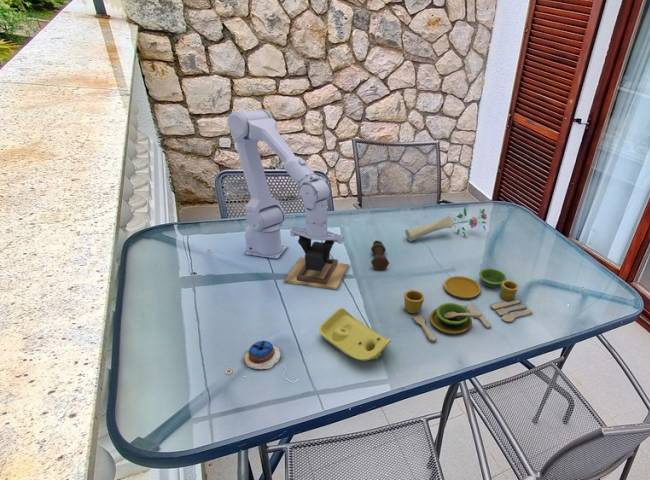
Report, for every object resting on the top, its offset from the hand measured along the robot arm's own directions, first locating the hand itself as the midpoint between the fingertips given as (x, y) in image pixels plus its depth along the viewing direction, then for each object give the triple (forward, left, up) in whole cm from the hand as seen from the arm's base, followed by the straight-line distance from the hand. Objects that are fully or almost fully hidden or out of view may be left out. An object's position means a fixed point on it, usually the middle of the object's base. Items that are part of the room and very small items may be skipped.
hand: (317, 259), depth 131 cm
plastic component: (+19, -31, -6) cm, 37 cm away
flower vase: (+38, +41, -6) cm, 56 cm away
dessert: (-1, -39, -6) cm, 39 cm away
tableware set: (+47, -5, -6) cm, 48 cm away
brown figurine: (+16, +15, -6) cm, 23 cm away
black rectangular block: (0, 0, -1) cm, 1 cm away
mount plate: (0, 0, -6) cm, 6 cm away
